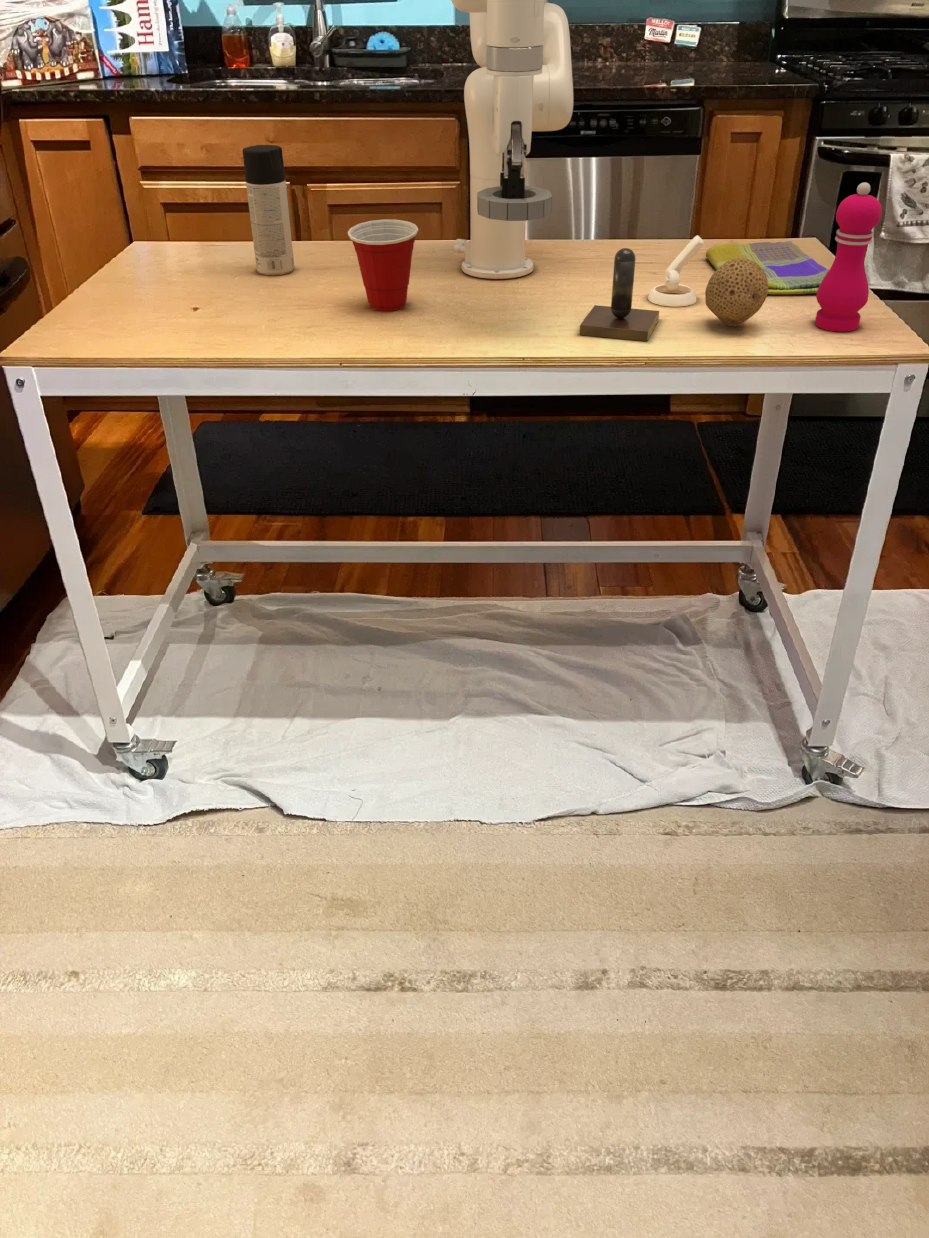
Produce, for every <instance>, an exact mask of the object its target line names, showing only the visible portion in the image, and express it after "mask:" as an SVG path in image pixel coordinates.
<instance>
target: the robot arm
mask: <svg viewBox="0 0 929 1238" xmlns="http://www.w3.org/2000/svg"><path fill="white" fill-rule="evenodd" d="M450 1H451V4H452V5H453V6H454V7H455V9H457V10H458V11H460V12H463V13H467V14H469V33H470V44H471V52H472V56H473V60H474V61H475V63H476V64H477V65H478V66H479V67H478V68H476V69H475V70H473V71H472V72H471V73H470V74H469V75H468V76H467V78H466V80H465V83H464V88H463V100H464V101H463V102H464V109H465V117H466V123H467V133H468V143H469V144H468V145H469V192H470V193H469V198H470V199H469V201H470V203H469V204H470V205H469V207H470V210H469V211H470V213H469V216H470V217H469V218H470V219H469V221H470V226H469V227H470V228H469V229H470V230H469V231H470V233H469V234H470V235H469V236H470V240H467V239H463V238H456V240H455V242H454V245H453V250H452V251H453V253H456V254H464V260H463V261H462V262H461V270H462V272H464V274H466V275H469V276H470V277H475V278H480V279H489V280H490V279H491V280H505V279H506V280H507V279H515V278H520V277H524V276H527V275H529V274H530V273H532V272H533V271H534V267H535V266H534V264H535V263H534V261H533V260H532V259H531V258H528V257H526V232H527V231H526V229H527V227H526V225H527V221H508V220H507V221H502V220H494V219H488V218H486V217H483V216H480V215H478V211H477V193H478V192H479V191H481V190H484V189H487V188H492V187H498V186H502V198H505V199H524V194H525V186H528V163H527V162H528V161H527V158H526V156H528V155H529V154H530V153H531V145H532V144H531V143H532V132H554V131H559V130H563V129H564V128H565V127H567V126H568V125H569V123H570V121H571V120H572V116H573V112H574V111H573V110H574V80H573V66H572V63H573V62H572V50H571V35H570V25H569V21H568V16H567V15H566V12H565V10H564V9H563V8H562V7H561V6H559V5H558V4H556V3H553V2H547V1H548V0H450Z"/></svg>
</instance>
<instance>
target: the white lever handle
mask: <svg viewBox="0 0 929 1238" xmlns="http://www.w3.org/2000/svg"><path fill="white" fill-rule="evenodd" d="M704 244H705V243H704V240H703V238H702V237H700V235H698V234H697V235H695V236H694V237H693V238H692V239H691V240H690V241H689V242H688V243H687V245H686V246H685V247H684V248H683V249H682V250H681V251H680V252H679V254H678V255H677V256H676V257H675V259H673V260H672V262H671V263H670V264H669V265H668V266H667V268H666V269H665V271H664V276H663V277H664V278H663V280H664V283H662V284H657V285H655V286H653V287H652V289H651V290H650V292H649V294H648V296H647V300H648V301H649V303H652V304H655V305H657V306H663V307H672V308H673V307H675V308H678V307H688V306H691V305H694V304H696V302H697V296H696V293H695V290H694V289H693V288H692V287H691V286H688V285H685V284H680V282H681V279H680V274H681V272H682V270H683V269H684V267H685V266H687V265H688V264H689V263H690V261H691V260H692V259H693V258H694V257H695V255H696V254H697V253H698V252H699V251H700V250H701V248H702V247H704Z"/></svg>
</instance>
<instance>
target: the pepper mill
mask: <svg viewBox="0 0 929 1238" xmlns="http://www.w3.org/2000/svg"><path fill="white" fill-rule="evenodd" d="M870 192H871V185H870V183H868V182H861V183H860V184H858V185H857V188H856V193H854V194H851V195H849V196H847V197H844V199H843V200H842V201H841V202H840V203H839V205H838V207H837V210H836V213H835V220H836V221H835V222H836V223H837V224H838V226H839V228H838V229H837V230H836V236H835V237H834V240H835V242H837V246H836V252H835V256H834V260H833V262H832V264H831V267H829V271H828V273H827V274H826V275H825V277H824V278H823V280H822V282H821V284H820V286H819V288H818V291H817V293H816V297H815V298H816V301H817V303H818V306H819V307H820V309H818V310H817V311H816V314H815V321H814V325H815V326H816V327H818V328H820V329H821V330H826V331H830V332H838V333H839V332H840V333H847V332H852V331H856V330H857V329H858V328H859V327H860V321H861V318H862V317H861V314H860V313H859V311H860V310H861V309H863V308H864V307H865V306H866V305H867V303H868V301H869V294H870V292H869V291H870V290H869V281H868V277H867V273H866V266H865V260H866V253H867V249H868V246H869V245H870V244H872V243H873V236H874V231H872V230H873V229H874V228H875V227H876V226H877V225H878V224H879V223H880V221H881V218H882V213H883V211H882V204H881V202H880V200H879V199H877V198H876V197H875V196H873V195H870V194H869V193H870Z"/></svg>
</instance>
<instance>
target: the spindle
mask: <svg viewBox="0 0 929 1238" xmlns="http://www.w3.org/2000/svg"><path fill="white" fill-rule="evenodd" d="M613 261H614V262H613V273H612V274H613V275H612V286H611V288H612V289H611V301H610V306H608V305H599V304H598V305H597V304H595V305H593V307H592V308H591V309H590V311H588V314H587V315H586V316H585V318H584V319H583V320H582V322H581V323H580V325H579V335H580V336H588V337H597V338H599V337H600V338H608V339H618V340H629V341H636V342H637V341H638V342H639V341H640V342H648V340H649V339H650V337H651V335H652V333H653V332H654V330H655V328H656V326H657V324H658V322H659V320H660V319H659V318H660V310H653V309H642V308H633V307H632V306H633V293H634V282H635V270H636V269H635V268H636V254H635V252H634V251H633V250H632V249H631V248H628V247H623V248H620V249H619V250H617V252H616V253H615V255H614V260H613Z"/></svg>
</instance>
